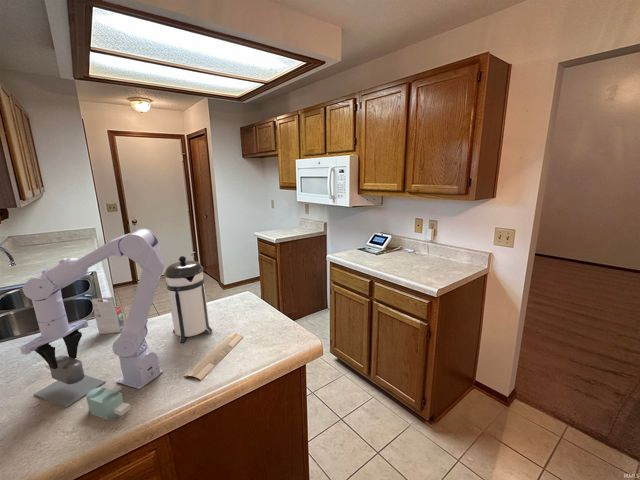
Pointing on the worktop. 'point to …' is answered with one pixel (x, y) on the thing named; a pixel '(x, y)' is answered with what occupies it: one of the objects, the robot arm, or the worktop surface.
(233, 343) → the wooden plank
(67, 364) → the plug
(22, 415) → the worktop surface
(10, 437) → the worktop surface
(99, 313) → the ink box
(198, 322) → the coffee press
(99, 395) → the teal plug
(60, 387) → the mat
